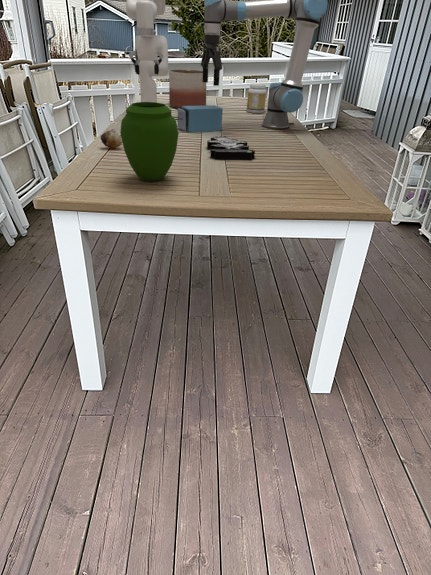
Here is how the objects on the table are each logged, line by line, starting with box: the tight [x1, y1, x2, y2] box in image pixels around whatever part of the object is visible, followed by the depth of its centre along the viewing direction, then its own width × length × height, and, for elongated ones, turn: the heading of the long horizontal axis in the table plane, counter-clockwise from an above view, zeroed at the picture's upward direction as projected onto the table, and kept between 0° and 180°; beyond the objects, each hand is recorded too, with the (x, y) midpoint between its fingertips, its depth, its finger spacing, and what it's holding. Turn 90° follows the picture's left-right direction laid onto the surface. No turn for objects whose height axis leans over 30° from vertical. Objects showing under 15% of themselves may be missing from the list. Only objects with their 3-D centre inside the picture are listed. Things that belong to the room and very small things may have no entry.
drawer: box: [173, 108, 189, 131], centre depth 217 cm, size 24×9×9 cm, turn 115°
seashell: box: [100, 128, 123, 149], centre depth 178 cm, size 10×6×8 cm, turn 91°
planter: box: [168, 69, 207, 109], centre depth 278 cm, size 25×25×22 cm
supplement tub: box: [246, 83, 267, 114], centre depth 274 cm, size 12×12×17 cm
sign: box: [206, 135, 256, 161], centre depth 185 cm, size 19×3×30 cm
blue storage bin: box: [182, 104, 223, 133], centre depth 220 cm, size 19×10×11 cm, turn 115°
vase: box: [119, 101, 179, 182], centre depth 140 cm, size 20×20×24 cm
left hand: (147, 74), depth 198 cm, fingers open, 9 cm apart
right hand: (210, 84), depth 205 cm, fingers open, 13 cm apart
